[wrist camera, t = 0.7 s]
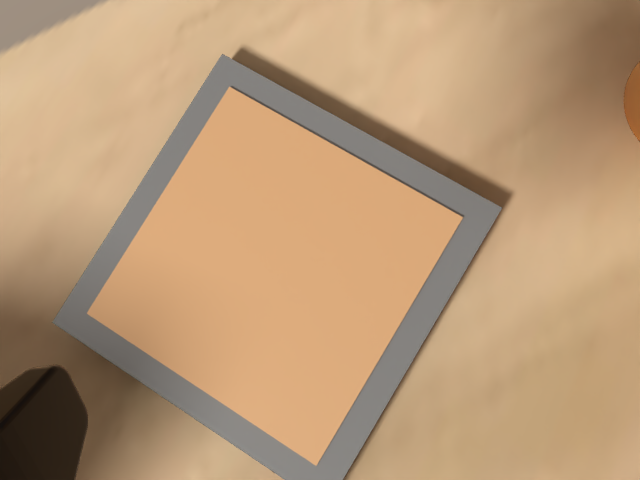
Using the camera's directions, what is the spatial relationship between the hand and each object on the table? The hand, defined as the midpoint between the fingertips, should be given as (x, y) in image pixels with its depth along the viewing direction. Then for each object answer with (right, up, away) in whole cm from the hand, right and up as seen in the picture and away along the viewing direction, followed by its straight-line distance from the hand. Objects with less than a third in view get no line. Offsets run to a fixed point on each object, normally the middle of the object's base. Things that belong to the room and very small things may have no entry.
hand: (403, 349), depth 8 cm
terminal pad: (-3, 0, +15) cm, 15 cm away
